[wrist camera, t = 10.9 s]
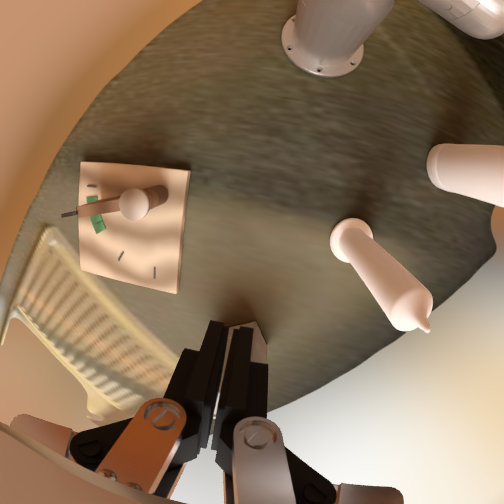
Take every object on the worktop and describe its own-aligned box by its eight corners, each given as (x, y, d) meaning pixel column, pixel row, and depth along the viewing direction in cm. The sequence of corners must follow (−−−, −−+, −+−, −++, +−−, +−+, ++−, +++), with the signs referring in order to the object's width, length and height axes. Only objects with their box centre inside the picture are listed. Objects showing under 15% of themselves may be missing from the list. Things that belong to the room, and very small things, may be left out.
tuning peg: (169, 179, 38) (144, 186, 30) (173, 206, 40) (149, 218, 31) (86, 195, 40) (53, 204, 31) (90, 217, 41) (58, 231, 33)
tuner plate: (85, 161, 39) (80, 162, 38) (190, 170, 39) (187, 171, 38) (85, 267, 46) (80, 270, 44) (179, 289, 46) (176, 294, 44)
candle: (323, 254, 42) (375, 360, 19) (338, 211, 40) (418, 281, 16) (362, 266, 42) (434, 367, 19) (377, 225, 40) (474, 300, 17)
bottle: (434, 197, 38) (578, 258, 9) (418, 153, 36) (575, 173, 7) (464, 178, 36) (600, 221, 8) (449, 137, 34) (594, 147, 6)
